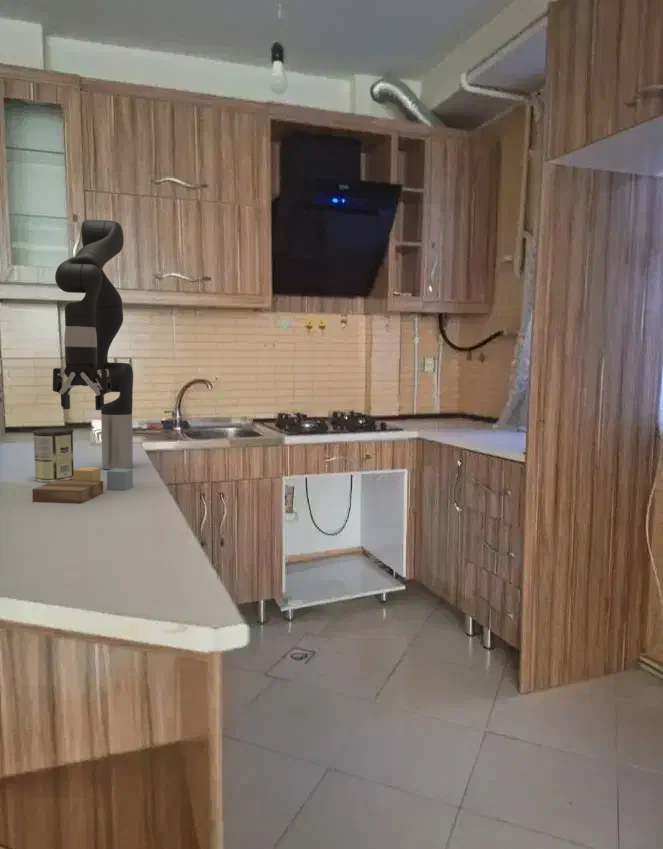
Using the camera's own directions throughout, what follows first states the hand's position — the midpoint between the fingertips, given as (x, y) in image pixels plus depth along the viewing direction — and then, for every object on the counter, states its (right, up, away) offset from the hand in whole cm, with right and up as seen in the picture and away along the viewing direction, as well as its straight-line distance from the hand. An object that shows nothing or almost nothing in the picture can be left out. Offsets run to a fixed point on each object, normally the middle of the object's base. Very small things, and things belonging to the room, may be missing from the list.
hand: (82, 409), depth 153 cm
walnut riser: (-2, -22, -3) cm, 22 cm away
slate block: (+6, -21, +9) cm, 24 cm away
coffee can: (-16, -20, +19) cm, 32 cm away
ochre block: (-3, -21, +9) cm, 23 cm away
